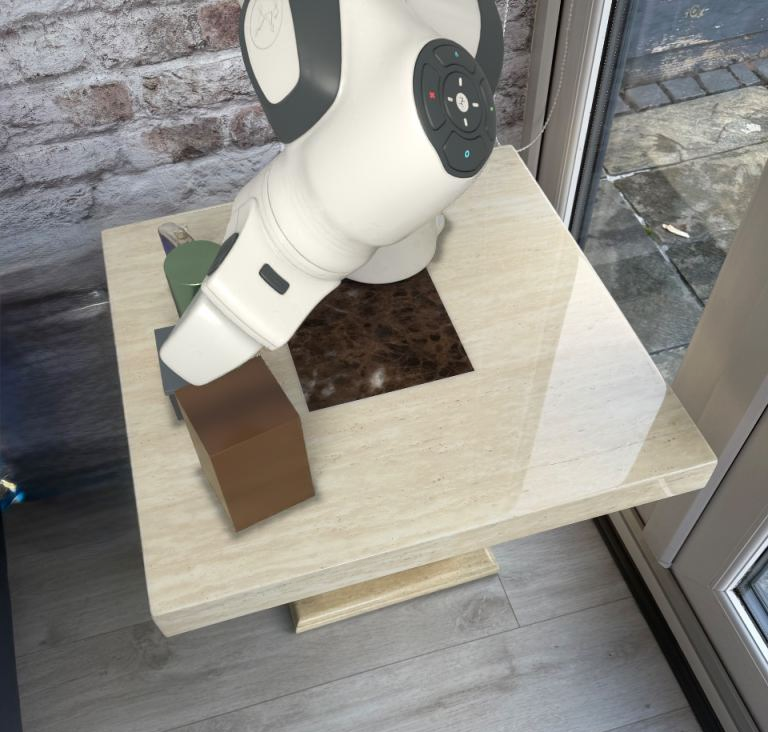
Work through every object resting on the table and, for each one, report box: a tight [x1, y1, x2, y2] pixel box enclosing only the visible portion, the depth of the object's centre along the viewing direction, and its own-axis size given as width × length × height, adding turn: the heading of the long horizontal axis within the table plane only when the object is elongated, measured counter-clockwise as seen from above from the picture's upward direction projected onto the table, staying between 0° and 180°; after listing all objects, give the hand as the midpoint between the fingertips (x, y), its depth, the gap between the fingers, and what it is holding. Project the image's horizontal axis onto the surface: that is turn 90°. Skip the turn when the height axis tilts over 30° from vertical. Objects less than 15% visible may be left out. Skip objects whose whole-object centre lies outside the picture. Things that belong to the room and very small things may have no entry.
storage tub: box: [153, 324, 191, 421], centre depth 94 cm, size 10×6×5 cm
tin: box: [163, 239, 244, 373], centre depth 68 cm, size 5×5×10 cm
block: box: [174, 354, 315, 533], centre depth 83 cm, size 9×9×13 cm
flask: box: [157, 221, 196, 257], centre depth 100 cm, size 9×3×11 cm, turn 36°
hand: (201, 305), depth 68 cm, fingers closed on tin, 5 cm apart
